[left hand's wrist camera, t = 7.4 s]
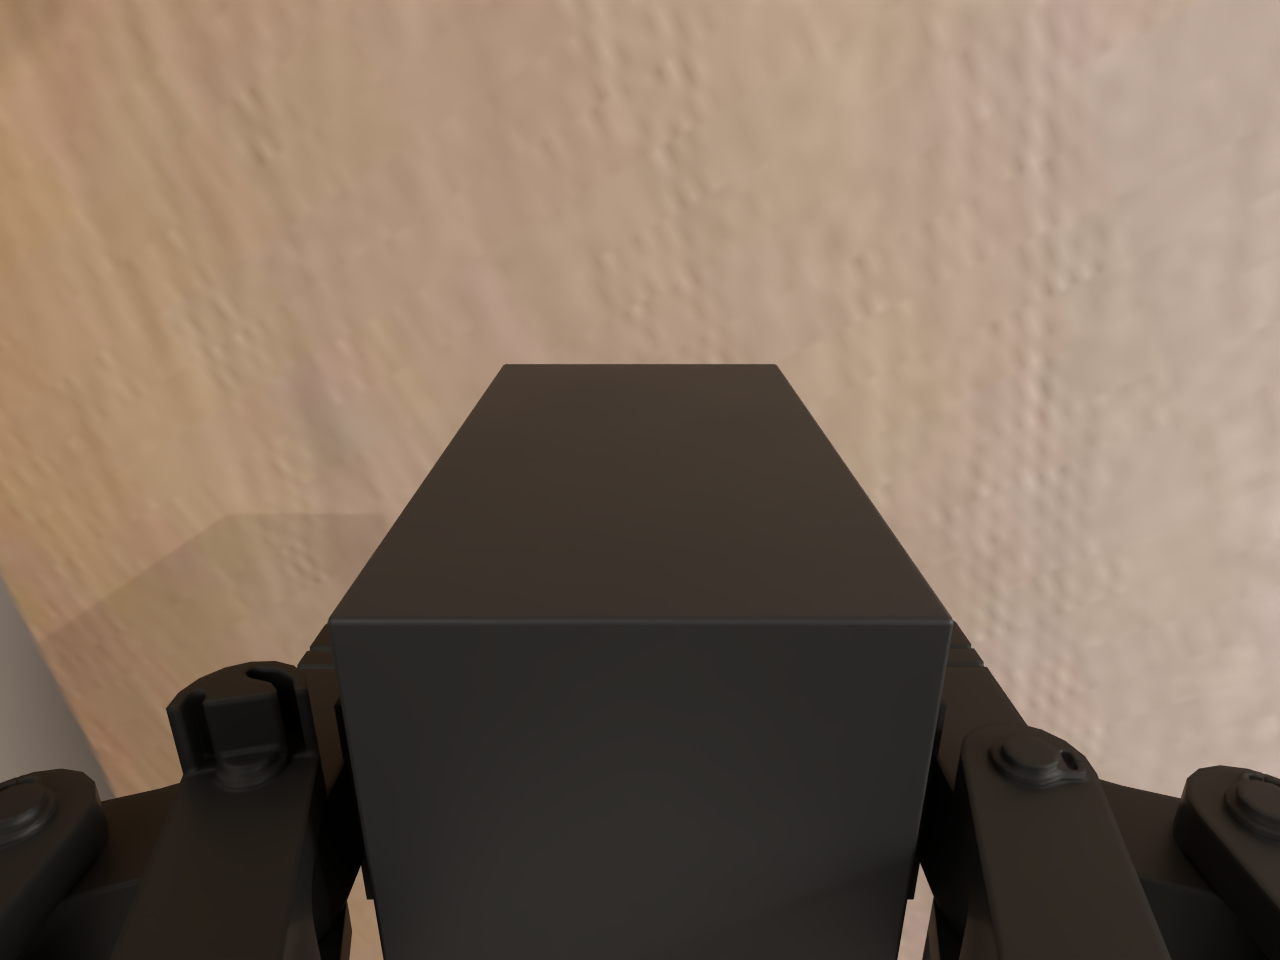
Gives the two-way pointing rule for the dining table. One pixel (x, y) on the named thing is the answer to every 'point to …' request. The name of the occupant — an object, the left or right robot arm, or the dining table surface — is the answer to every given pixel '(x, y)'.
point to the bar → (640, 681)
